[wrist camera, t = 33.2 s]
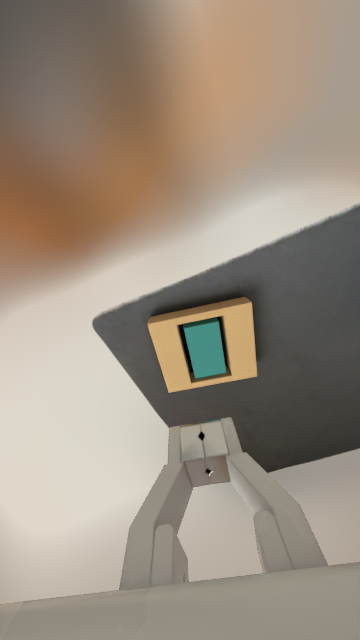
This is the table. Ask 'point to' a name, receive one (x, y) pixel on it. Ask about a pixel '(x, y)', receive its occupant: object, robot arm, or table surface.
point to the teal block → (205, 347)
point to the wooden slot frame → (236, 342)
